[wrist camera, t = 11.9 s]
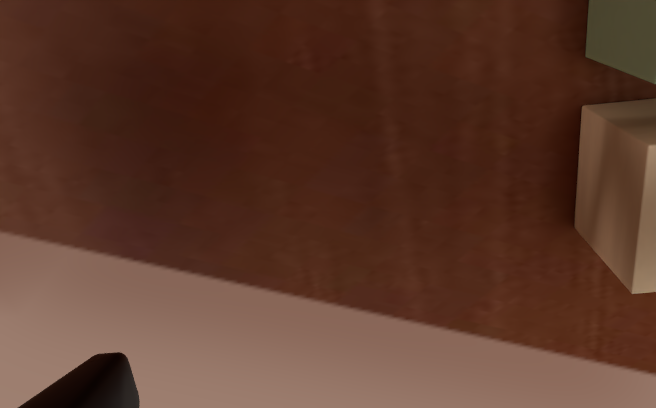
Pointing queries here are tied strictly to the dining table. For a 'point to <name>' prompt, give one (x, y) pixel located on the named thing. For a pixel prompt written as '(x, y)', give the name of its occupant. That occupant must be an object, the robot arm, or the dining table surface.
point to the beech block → (619, 189)
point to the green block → (623, 36)
